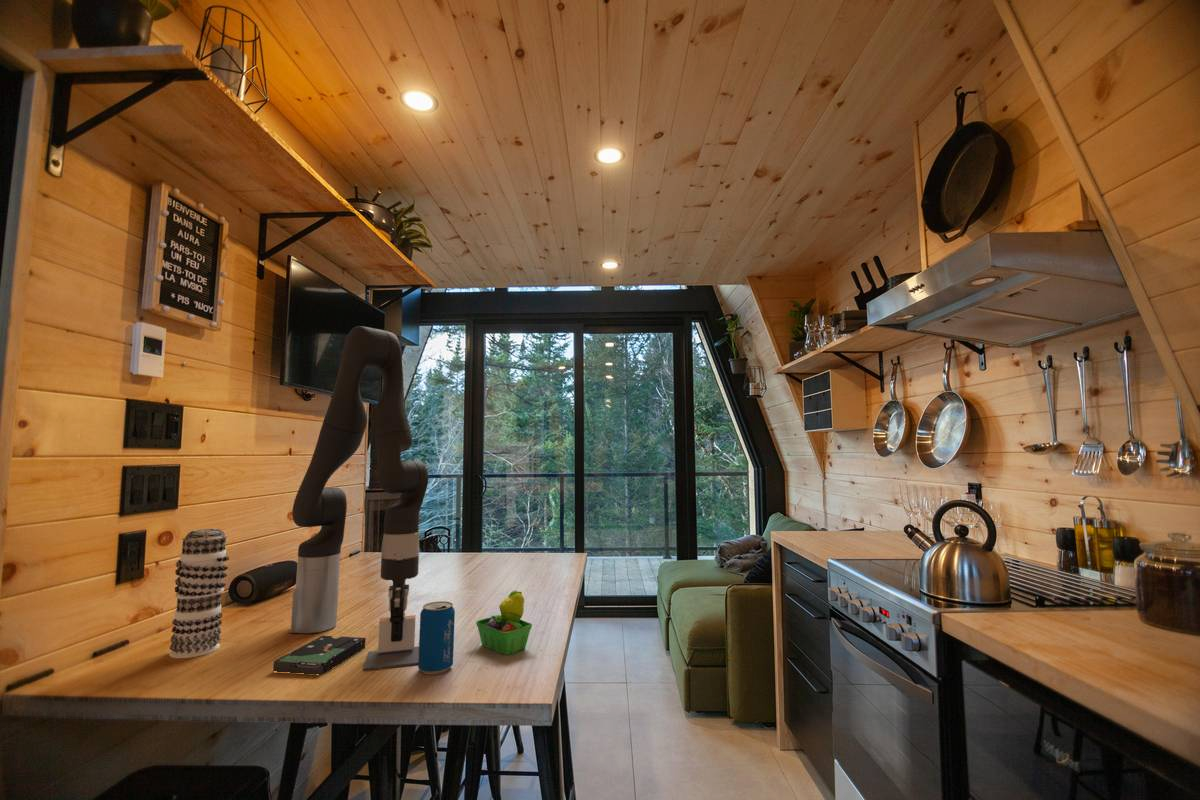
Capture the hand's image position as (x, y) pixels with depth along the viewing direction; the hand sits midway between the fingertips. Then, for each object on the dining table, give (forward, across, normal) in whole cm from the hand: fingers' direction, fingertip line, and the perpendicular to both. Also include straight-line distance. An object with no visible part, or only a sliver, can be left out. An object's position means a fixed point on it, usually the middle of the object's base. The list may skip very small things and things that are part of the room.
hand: (396, 638), depth 109 cm
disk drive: (+4, -1, -14) cm, 15 cm away
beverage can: (+3, +11, +8) cm, 14 cm away
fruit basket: (+3, +2, +22) cm, 23 cm away
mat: (+3, +3, 0) cm, 4 cm away
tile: (+2, 0, 0) cm, 2 cm away
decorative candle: (+3, -15, -41) cm, 43 cm away
